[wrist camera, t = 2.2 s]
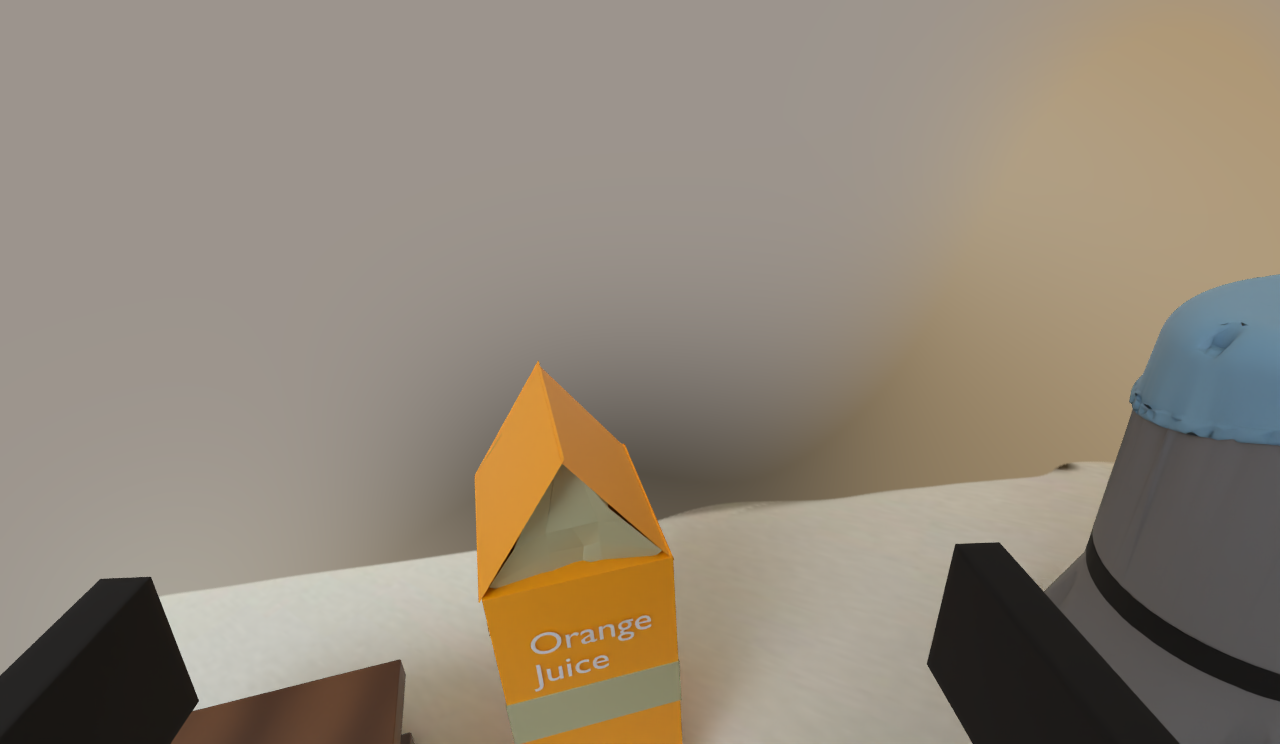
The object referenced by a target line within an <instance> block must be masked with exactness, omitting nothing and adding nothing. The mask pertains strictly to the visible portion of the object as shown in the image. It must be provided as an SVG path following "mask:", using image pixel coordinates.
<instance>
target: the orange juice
mask: <svg viewBox="0 0 1280 744" xmlns="http://www.w3.org/2000/svg"><path fill="white" fill-rule="evenodd" d="M475 501H476V531H477V532H476V533H477V564H478V595H479V602H480V601H481V599H482V602H483V606H484V611H485V615H486V619H487V626H488V632H490V635H489V636H491V640H492V644H493V649H494V653H495V657H496V661H497V666H498V670H499V674H500V678H501V683H502V687H503V691H504V695H505V700H506V708H507V713H508V717H509V721H510V725H511V730H512V734H513V738H514V742H515V744H682V726H681V706H680V700H681V686H680V665H679V659H678V646H677V627H676V607H675V587H674V567H673V560H674V558H673V556H672V554H671V551H670V549H669V547H668V544H667V542H666V540H665V537H664V535H663V533H662V530H661V528H660V526H659V523H658V521H657V519H656V516H655V514H654V512H653V509H652V507H651V505H650V503H649V500H648V498H647V495H646V493H645V491H644V489H643V486H642V484H641V481H640V479H639V477H638V474H637V472H636V470H635V467H634V465H633V463H632V460H631V458H630V456H629V453H628V451H627V449H626V446H625V444H621V443H620V442H619V441H618V440H617V439H616V438H615V437H614V436H613V435H612V434H610V433H609V432H608V431H607V430H606V429H605V428H604V427H603V426H602V425H601V424H600V423H599V422H598V421H597V420H596V419H595V418H594V417H593V416H592V415H591V414H590V413H588V412H587V411H586V410H585V409H584V408H583V407H582V406H581V405H580V404H579V403H578V402H577V401H576V400H575V399H574V398H573V397H572V396H571V395H570V394H568V393H567V392H566V391H565V390H564V389H563V388H562V387H561V386H560V385H559V384H558V383H557V382H556V381H555V380H554V379H553V378H552V377H551V376H549V375H548V374H547V373H546V372H545V371H544V370H543V369H542V368H541V367H540V364H539V361H538V362H537V364H536V366H535V367H534V369H533V371H532V373H531V375H530V377H529V378H528V380H527V382H526V384H525V386H524V387H523V389H522V391H521V393H520V394H519V396H518V398H517V400H516V402H515V404H514V405H513V407H512V409H511V411H510V413H509V414H508V416H507V418H506V420H505V422H504V423H503V425H502V427H501V429H500V431H499V433H498V434H497V436H496V438H495V440H494V441H493V443H492V445H491V447H490V449H489V451H488V452H487V454H486V456H485V458H484V460H483V461H482V463H481V465H480V467H479V469H478V470H477V472H476V474H475Z"/></svg>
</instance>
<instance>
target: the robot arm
mask: <svg viewBox="0 0 1280 744" xmlns="http://www.w3.org/2000/svg"><path fill="white" fill-rule="evenodd" d="M1129 402H1130V403H1131V404H1132V407H1133V410H1132V414H1131V417H1130V420H1129V423H1128V425H1127V429H1126V432H1125V435H1124V438H1123V441H1122V444H1121V447H1120V449H1119V452H1118V455H1117V458H1116V461H1115V464H1114V467H1113V470H1112V472H1111V475H1110V478H1109V481H1108V484H1107V487H1106V490H1105V493H1104V496H1103V499H1102V502H1101V504H1100V507H1099V510H1098V513H1097V516H1096V519H1095V522H1094V525H1093V529H1092V532H1091V535H1090V538H1089V541H1088V544H1087V546H1086V549H1085V552H1084V553H1083V554H1082V555H1081V556H1080V557H1079V558H1078V559H1077V560H1076V561H1075V562H1074V563H1073V564H1072V565H1071V566H1070V567H1069V568H1068V569H1067V570H1066V571H1065V572H1064V573H1063V574H1062V575H1060V576H1059V577H1058V578H1057V579H1056V580H1055V581H1054V582H1053V583H1052V584H1051V585H1050V586H1049V587H1048V588H1047V589H1046V590H1045V591H1044V592H1043V591H1042V589H1041V588H1040V587H1039V586H1038V585H1037V584H1036V583H1035V582H1034V581H1033V579H1032V578H1031V577H1030V576H1029V575H1028V574H1027V573H1026V572H1025V570H1024V569H1023V568H1022V567H1021V566H1020V565H1019V564H1018V563H1017V562H1016V560H1015V559H1014V558H1013V557H1012V556H1011V555H1010V554H1009V553H1008V552H1007V550H1006V549H1005V548H1004V547H1003V546H1002V545H1001V544H1000V543H999V542H996V543H971V544H955V548H954V552H953V556H952V561H951V565H950V569H949V573H948V578H947V582H946V586H945V590H944V594H943V599H942V603H941V607H940V611H939V615H938V620H937V624H936V628H935V632H934V637H933V641H932V645H931V649H930V653H929V658H928V662H927V665H928V667H929V669H930V670H931V672H932V674H933V676H934V677H935V679H936V681H937V682H938V684H939V686H940V688H941V689H942V691H943V693H944V695H945V696H946V698H947V700H948V702H949V703H950V705H951V707H952V708H953V710H954V712H955V714H956V715H957V717H958V719H959V721H960V722H961V724H962V726H963V728H964V729H965V731H966V733H967V734H968V736H969V738H970V740H971V741H972V743H973V744H1280V275H1272V276H1266V277H1258V278H1252V279H1247V280H1242V281H1237V282H1233V283H1229V284H1225V285H1222V286H1219V287H1216V288H1213V289H1210V290H1208V291H1205V292H1203V293H1201V294H1199V295H1197V296H1195V297H1193V298H1191V299H1190V300H1188V301H1187V302H1185V303H1184V304H1182V305H1181V306H1180V307H1179V308H1177V309H1176V310H1175V311H1174V312H1173V314H1171V316H1170V317H1169V318H1168V319H1167V320H1166V322H1165V324H1164V326H1163V328H1162V329H1161V332H1160V334H1159V337H1158V339H1157V342H1156V344H1155V346H1154V349H1153V351H1152V354H1151V356H1150V359H1149V361H1148V364H1147V366H1146V369H1145V371H1144V373H1143V375H1142V376H1141V377H1140V378H1139V379H1138V380H1137V381H1136V382H1135V384H1134V385H1133V388H1132V390H1131V395H1130V401H1129ZM198 702H199V700H198V697H197V695H196V692H195V690H194V687H193V684H192V682H191V679H190V677H189V674H188V672H187V669H186V666H185V664H184V661H183V659H182V656H181V653H180V651H179V648H178V646H177V643H176V641H175V638H174V635H173V633H172V630H171V628H170V625H169V622H168V620H167V617H166V615H165V612H164V610H163V607H162V604H161V602H160V599H159V597H158V594H157V592H156V589H155V586H154V584H153V581H152V579H151V577H137V578H112V579H100V580H99V581H98V582H97V583H96V584H95V585H94V586H93V587H92V588H91V589H90V590H89V591H88V592H86V593H85V594H84V595H83V596H82V597H81V598H80V599H79V600H78V601H77V602H76V603H75V604H74V605H73V606H72V607H71V608H70V609H69V610H68V611H67V612H66V613H65V614H64V615H63V616H62V617H61V618H60V619H58V620H57V621H56V622H55V623H54V624H53V625H52V626H51V627H50V628H49V629H48V630H47V631H46V632H45V633H44V634H43V635H42V636H41V637H40V638H39V639H38V640H37V641H36V642H35V643H34V644H33V645H32V646H31V647H30V648H28V649H27V650H26V651H25V652H24V653H23V654H22V655H21V656H20V657H19V658H18V659H17V660H16V661H15V662H14V663H13V664H12V665H11V666H10V667H9V668H8V669H7V670H6V671H5V672H4V673H2V674H1V676H0V744H171V742H172V741H173V739H174V738H175V736H176V735H177V733H178V732H179V730H180V729H181V727H182V726H183V724H184V723H185V721H186V720H187V718H188V717H189V715H190V714H191V712H192V711H193V709H194V708H195V706H196V705H197V703H198Z"/></svg>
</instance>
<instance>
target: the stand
mask: <svg viewBox="0 0 1280 744" xmlns="http://www.w3.org/2000/svg"><path fill="white" fill-rule="evenodd" d="M405 678H406V674H405V671H404V668H403V665H402V662H401V660H396V661H392V662H388V663H384V664H380V665H376V666H372V667H368V668H364V669H360V670H356V671H352V672H348V673H344V674H340V675H336V676H332V677H328V678H324V679H320V680H316V681H312V682H308V683H304V684H300V685H296V686H292V687H288V688H284V689H280V690H276V691H272V692H268V693H264V694H260V695H256V696H252V697H248V698H244V699H240V700H236V701H232V702H228V703H224V704H220V705H216V706H212V707H208V708H204V709H200V710H196V711H192V712H191V714H190V715H189V717H188V718H187V720H186V721H185V723H184V724H183V726H182V727H181V729H180V730H179V732H178V733H177V735H176V736H175V738H174V739H173V741H172V742H171V744H415V743H414V740H413V737H412V735H411V733H406V734H403V735H401V731H402V718H403V705H404V691H405Z"/></svg>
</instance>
